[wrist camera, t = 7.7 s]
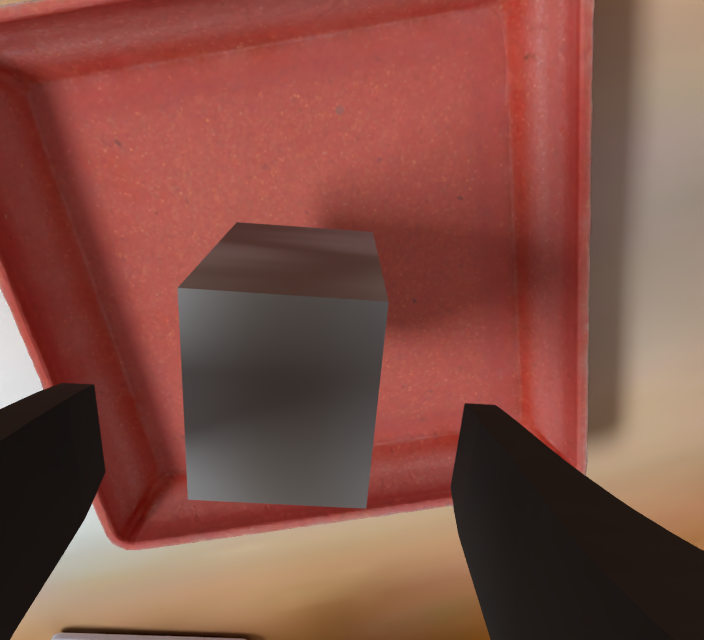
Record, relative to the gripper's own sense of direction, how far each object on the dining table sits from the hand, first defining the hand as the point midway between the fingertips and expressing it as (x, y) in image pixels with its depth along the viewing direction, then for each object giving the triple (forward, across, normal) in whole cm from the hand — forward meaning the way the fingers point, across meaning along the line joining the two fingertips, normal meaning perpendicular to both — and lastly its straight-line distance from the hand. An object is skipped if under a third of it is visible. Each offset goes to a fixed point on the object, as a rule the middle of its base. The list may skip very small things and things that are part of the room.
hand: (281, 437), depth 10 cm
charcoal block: (+7, 0, 0) cm, 7 cm away
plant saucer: (+10, 0, 0) cm, 10 cm away
